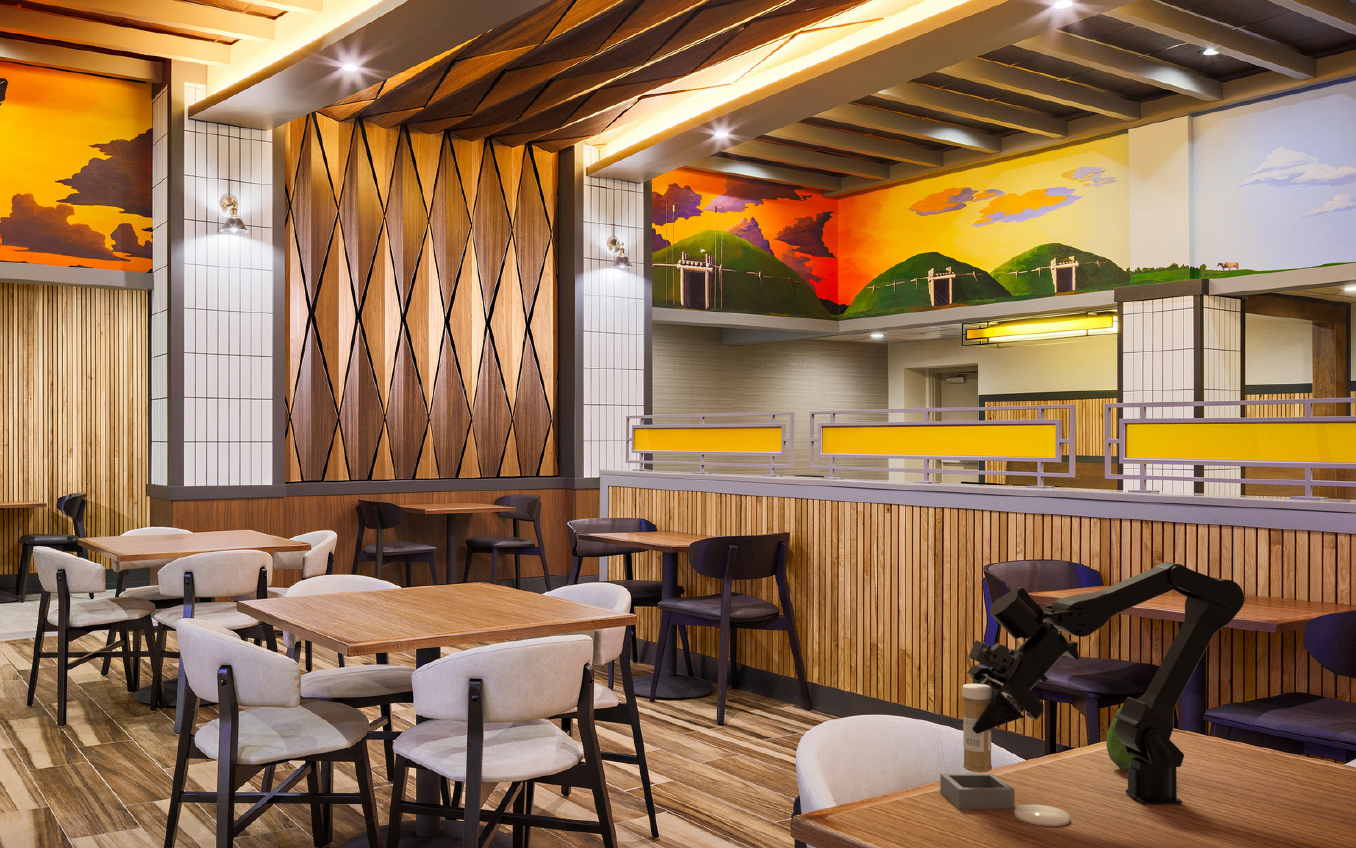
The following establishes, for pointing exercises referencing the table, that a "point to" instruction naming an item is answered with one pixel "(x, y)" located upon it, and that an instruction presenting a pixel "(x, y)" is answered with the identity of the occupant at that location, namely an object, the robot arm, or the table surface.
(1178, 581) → the robot arm
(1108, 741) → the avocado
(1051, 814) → the white round coaster
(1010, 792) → the sleeve
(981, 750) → the sprinkles bottle
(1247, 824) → the table surface
